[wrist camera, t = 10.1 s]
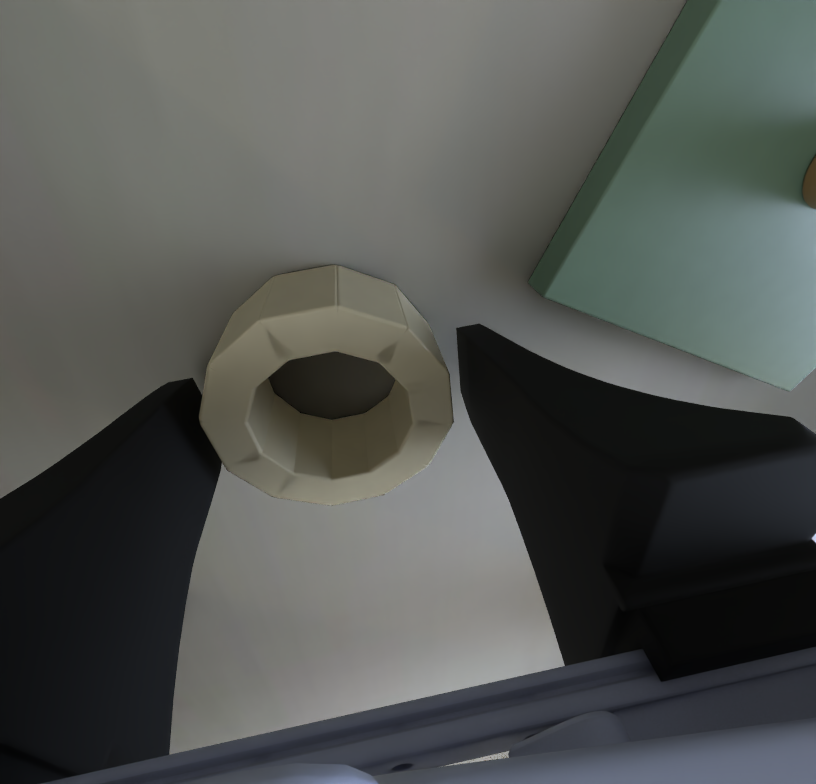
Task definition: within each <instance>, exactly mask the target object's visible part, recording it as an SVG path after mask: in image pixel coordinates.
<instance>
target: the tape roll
mask: <svg viewBox="0 0 816 784" xmlns="http://www.w3.org/2000/svg"><path fill="white" fill-rule="evenodd" d="M335 351H337V352H341V353H344V354H348V355H352V356H355V357H359V358H363V359H366V360H370V361H374V362H377V363H380V364H381V365H382V366H383V367H384V368H385V369H386V370H387V371H388V372H389V373H390V374H391V375H392V376H393V377H394V378H395V379H396V380H395V382H394V384H393V387H392V389H391V391H390V393H389V396H388V397H386V398H385V399H384V400H382V401H381V402H380V403H378V404H377V405H376V406H374V407H373V408H371V409H370V410H369V411H367V412H366V413H364V414H359V415H354V416H349V417H344V418H339V419H334V420H330V419H325V418H321V417H316V416H311V415H307V414H302V413H300V412H299V411H297V410H296V409H295V408H293V407H292V406H291V405H289V404H288V403H287V402H285V401H284V400H283V399H281V398H280V397H279V396H277V395H276V394H275V393H274V391H273V389H272V386H271V384H270V382H269V379H268V377H269V376H271V375H272V374H273V373H274V372H275V371H277V370H278V369H279V368H280V367H281V366H283V365H284V364H285V363H286V362H288V361H289V360H293V359H298V358H304V357H309V356H314V355H319V354H324V353H330V352H335ZM199 420H200V425H201V426H202V428H203V430H204V432H205V433H206V435H207V437H208V439H209V440H210V442H211V444H212V446H213V447H214V449H215V451H216V452H217V454H218V456H219V458H220V459H221V461H222V463H223V465H224V466H225V467H226V470H227V471H229V472H231V473H233V474H234V475H236V476H238V477H239V478H241V479H243V480H244V481H246V482H248V483H250V484H251V485H253V486H255V487H256V488H258V489H260V490H262V491H263V492H265V493H267V494H268V495H270V496H272V497H276V498H281V499H288V500H295V501H302V502H309V503H315V504H322V505H331V506H333V505H338V504H343V503H348V502H353V501H358V500H363V499H367V498H372V497H377V496H382V495H385V493H388V492H389V491H391V490H392V489H394V488H395V487H397V486H399V485H400V484H402V483H403V482H405V481H406V480H408V479H409V478H411V477H412V476H414V475H415V474H417V473H419V472H420V471H422V470H423V469H425V468H426V467H427V466H428V465H429V464H430V463H431V461H432V459H433V458H434V456H435V454H436V452H437V451H438V449H439V447H440V446H441V444H442V442H443V440H444V439H445V437H446V435H447V433H448V432H449V430H450V428H451V426H452V424H453V422H454V419H453V408H452V397H451V386H450V374H449V372H448V369H447V367H446V364H445V362H444V360H443V357H442V355H441V353H440V350H439V348H438V345H437V343H436V341H435V338H434V336H433V333H432V331H431V329H430V326H429V324H428V323H427V322H426V320H425V319H424V318H423V317H422V316H421V314H420V313H419V312H418V311H417V310H416V309H415V307H414V306H413V305H412V304H411V303H410V302H409V300H408V299H407V298H406V297H405V296H404V294H403V293H402V292H401V291H400V290H399V289H398V287H397V286H396V285H393V284H392V283H389V282H386V281H383V280H380V279H377V278H374V277H371V276H368V275H366V274H363V273H360V272H357V271H354V270H351V269H348V268H345V267H342V266H336V265H330V266H324V267H319V268H313V269H308V270H302V271H297V272H292V273H286V274H281V275H276V276H273V277H272V278H271V279H270V280H269V281H267V282H266V283H265V284H264V285H263V286H262V287H261V288H260V289H259V290H258V291H257V292H255V293H254V294H253V295H252V296H251V297H250V298H249V299H248V300H247V301H246V302H245V303H243V304H242V305H241V306H240V307H239V308H238V309H237V310H236V311H235V312H234V313H233V314H232V316H231V318H230V320H229V322H228V324H227V326H226V328H225V330H224V332H223V334H222V336H221V339H220V341H219V343H218V345H217V347H216V349H215V351H214V353H213V355H212V357H211V359H210V361H209V363H208V366H207V370H206V376H205V382H204V388H203V394H202V401H201V407H200V413H199Z"/></svg>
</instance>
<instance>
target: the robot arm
mask: <svg viewBox="0 0 816 784" xmlns="http://www.w3.org/2000/svg"><path fill="white" fill-rule="evenodd" d="M456 330H457V345H458V359H459V373H460V388H461V394H462V397H463V400H464V403H465V406H466V409H467V412H468V415H469V418H470V421H471V423H472V425H473V427H474V429H475V431H476V433H477V435H478V437H479V439H480V441H481V443H482V445H483V447H484V449H485V451H486V453H487V456H488V458H489V460H490V462H491V464H492V466H493V468H494V470H495V472H496V474H497V476H498V478H499V480H500V482H501V484H502V486H503V488H504V490H505V492H506V495H507V497H508V499H509V502H510V504H511V507H512V510H513V512H514V515H515V518H516V521H517V523H518V526H519V529H520V531H521V534H522V537H523V540H524V543H525V546H526V548H527V551H528V554H529V557H530V560H531V563H532V565H533V568H534V571H535V574H536V577H537V580H538V583H539V586H540V589H541V592H542V595H543V598H544V601H545V604H546V607H547V610H548V613H549V616H550V619H551V623H552V626H553V629H554V632H555V635H556V638H557V642H558V645H559V648H560V651H561V654H562V658H563V661H564V664H565V666H564V667H559V668H555V669H550V670H546V671H541V672H537V673H532V674H528V675H523V676H519V677H514V678H510V679H506V680H501V681H497V682H492V683H488V684H483V685H479V686H474V687H470V688H465V689H461V690H456V691H452V692H448V693H443V694H439V695H434V696H430V697H425V698H421V699H416V700H412V701H407V702H403V703H398V704H394V705H390V706H385V707H381V708H376V709H372V710H367V711H363V712H358V713H354V714H349V715H345V716H340V717H336V718H332V719H327V720H323V721H318V722H314V723H309V724H305V725H300V726H296V727H291V728H287V729H282V730H278V731H274V732H269V733H265V734H260V735H256V736H251V737H247V738H242V739H238V740H233V741H229V742H224V743H220V744H216V745H211V746H207V747H202V748H198V749H193V750H189V751H184V752H180V753H175V754H171V755H169V749H170V735H171V722H172V709H173V697H174V688H175V679H176V670H177V661H178V653H179V645H180V638H181V631H182V625H183V618H184V611H185V605H186V599H187V594H188V588H189V583H190V578H191V572H192V567H193V563H194V559H195V555H196V551H197V547H198V544H199V541H200V538H201V534H202V531H203V528H204V524H205V521H206V518H207V515H208V511H209V508H210V505H211V502H212V498H213V495H214V492H215V488H216V485H217V481H218V478H219V474H220V471H221V464H222V461H221V459H220V458H219V456H218V454H217V452H216V451H215V449H214V447H213V446H212V444H211V442H210V440H209V439H208V437H207V435H206V433H205V432H204V430H203V428H202V426H201V425H200V420H199V413H200V407H201V401H202V394H201V392H200V391H199V389H198V387H197V385H196V383H195V381H194V380H193V378H189V379H184V380H179V381H173V382H168V383H167V384H165V385H163V386H161V387H160V388H158V389H157V390H155V391H154V392H152V393H151V394H149V395H148V396H147V397H145V398H144V399H143V400H141V401H140V402H138V403H137V404H136V405H134V406H133V407H132V408H131V409H129V410H128V411H127V412H125V413H124V414H123V415H121V416H120V417H119V418H117V419H116V420H115V421H113V422H112V423H111V424H110V425H108V426H107V427H106V428H104V429H103V430H102V431H100V432H99V433H98V434H96V435H95V436H93V437H92V438H91V439H89V440H88V441H87V442H85V443H84V444H82V445H81V446H80V447H78V448H77V449H75V450H74V451H73V452H71V453H70V454H68V455H67V456H66V457H64V458H63V459H61V460H60V461H59V462H57V463H56V464H54V465H53V466H51V467H50V468H48V469H47V470H45V471H44V472H42V473H41V474H39V475H38V476H36V477H35V478H33V479H32V480H30V481H28V482H27V483H25V484H24V485H22V486H20V487H19V488H17V489H15V490H14V491H12V492H11V493H9V494H7V495H6V496H4V497H2V498H1V499H0V784H816V434H815V433H814V432H812V431H811V430H809V429H808V428H806V427H805V426H804V425H802V424H801V423H799V422H798V421H796V420H795V419H794V418H791V417H786V416H778V415H770V414H762V413H754V412H746V411H738V410H730V409H723V408H716V407H710V406H704V405H699V404H694V403H688V402H683V401H677V400H672V399H668V398H663V397H659V396H654V395H650V394H646V393H642V392H639V391H635V390H631V389H627V388H623V387H620V386H616V385H613V384H610V383H606V382H603V381H601V380H598V379H595V378H592V377H589V376H586V375H583V374H581V373H578V372H575V371H573V370H570V369H568V368H565V367H563V366H561V365H559V364H556V363H554V362H552V361H550V360H547V359H545V358H543V357H541V356H539V355H537V354H535V353H533V352H531V351H529V350H527V349H525V348H523V347H521V346H520V345H518V344H516V343H514V342H512V341H510V340H509V339H507V338H505V337H503V336H501V335H500V334H498V333H496V332H494V331H493V330H491V329H489V328H487V327H485V326H483V325H481V324H475V325H470V326H465V327H459V328H456ZM506 751H509V754H508V755H509V758H504V759H496V760H488V761H481V762H473V763H466V764H458V765H450V766H445V765H449V764H454V763H458V762H462V761H467V760H471V759H475V758H480V757H484V756H488V755H493V754H497V753H501V752H506ZM441 766H443V767H441Z"/></svg>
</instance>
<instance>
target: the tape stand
mask: <svg viewBox="0 0 816 784" xmlns="http://www.w3.org/2000/svg"><path fill="white" fill-rule="evenodd" d="M528 283H529V285H530V286H532V287H533V288H534V289H535V290H536V291H537V292H538V293H539V294H540V295H541V296H542V297H544V298H546V299H549V300H552V301H554V302H557V303H559V304H562V305H565V306H567V307H570V308H572V309H575V310H578V311H580V312H583V313H585V314H588V315H591V316H593V317H596V318H598V319H601V320H604V321H606V322H609V323H611V324H614V325H617V326H619V327H622V328H624V329H627V330H630V331H632V332H635V333H637V334H640V335H643V336H645V337H648V338H650V339H653V340H656V341H658V342H661V343H664V344H666V345H669V346H671V347H674V348H677V349H679V350H682V351H684V352H687V353H690V354H692V355H695V356H697V357H700V358H703V359H705V360H708V361H710V362H713V363H716V364H718V365H721V366H723V367H726V368H729V369H731V370H734V371H736V372H739V373H742V374H744V375H747V376H749V377H752V378H755V379H757V380H760V381H762V382H765V383H768V384H770V385H773V386H775V387H778V388H781V389H783V390H786V391H791V390H792V389H793V388H794V387H795V386H796V385H798V384H799V383H800V382H801V381H802V380H803V379H804V378H805V377H806V376H807V375H808V374H809V373H810V372H811V371H812V370H813V369H815V368H816V0H688V1H687V3H686V4H685V6H684V8H683V10H682V12H681V13H680V15H679V17H678V19H677V20H676V22H675V24H674V26H673V27H672V29H671V31H670V33H669V34H668V36H667V38H666V40H665V41H664V43H663V45H662V47H661V49H660V50H659V52H658V54H657V56H656V57H655V59H654V61H653V63H652V64H651V66H650V68H649V70H648V71H647V73H646V75H645V77H644V78H643V80H642V82H641V84H640V86H639V87H638V89H637V91H636V93H635V94H634V96H633V98H632V100H631V101H630V103H629V105H628V107H627V108H626V110H625V112H624V114H623V115H622V117H621V119H620V121H619V123H618V124H617V126H616V128H615V130H614V131H613V133H612V135H611V137H610V138H609V140H608V142H607V144H606V145H605V147H604V149H603V151H602V153H601V154H600V156H599V158H598V160H597V161H596V163H595V165H594V167H593V168H592V170H591V172H590V174H589V175H588V177H587V179H586V181H585V182H584V184H583V186H582V188H581V190H580V191H579V193H578V195H577V197H576V198H575V200H574V202H573V204H572V205H571V207H570V209H569V211H568V212H567V214H566V216H565V218H564V219H563V221H562V223H561V225H560V227H559V228H558V230H557V232H556V234H555V235H554V237H553V239H552V241H551V242H550V244H549V246H548V248H547V249H546V251H545V253H544V255H543V256H542V258H541V260H540V262H539V264H538V265H537V267H536V269H535V271H534V272H533V274H532V276H531V278H530V279H529V281H528Z"/></svg>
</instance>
